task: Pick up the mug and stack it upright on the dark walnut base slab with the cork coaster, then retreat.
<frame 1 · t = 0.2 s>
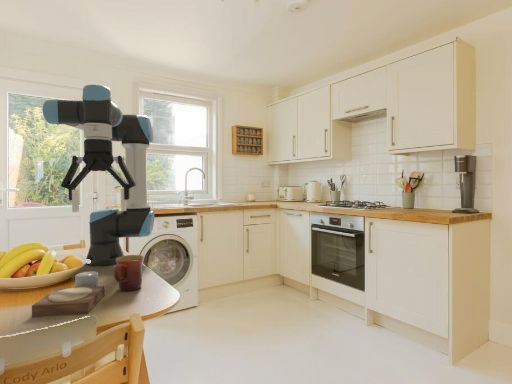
hand: (100, 211, 97), 27 cm above the table, fingers open, 13 cm apart
base slab: (71, 305, 95), on the table
mug: (127, 290, 107), on the table
grey rounded block: (87, 285, 112), on the table
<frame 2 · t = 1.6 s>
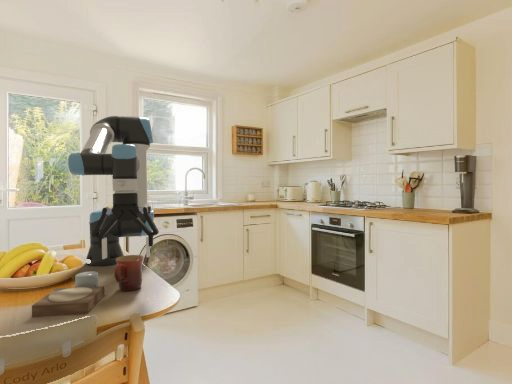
hand: (126, 257, 106), 11 cm above the table, fingers open, 13 cm apart
nothing on the table moved.
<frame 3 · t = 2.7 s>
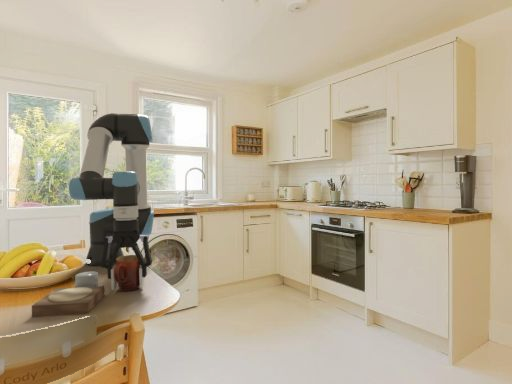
hand: (127, 287, 107), 1 cm above the table, fingers open, 8 cm apart
mug: (127, 290, 107), on the table, touching gripper
everything else where it was.
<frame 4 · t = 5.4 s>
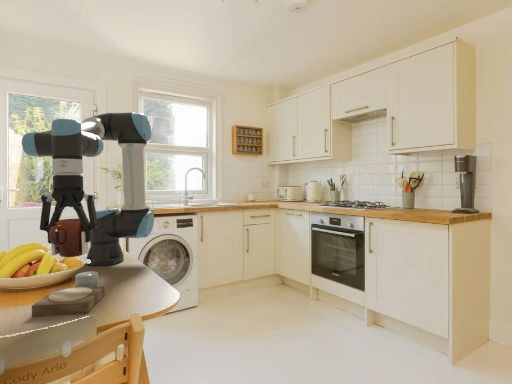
hand: (70, 253, 94), 15 cm above the table, fingers closed on mug, 7 cm apart
mug: (68, 257, 94), point 14 cm above the table, touching gripper
everything else where it was.
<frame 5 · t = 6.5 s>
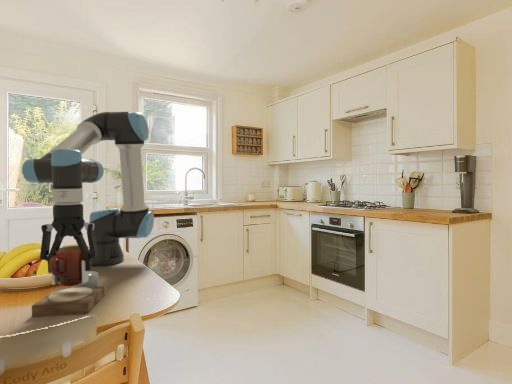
hand: (70, 282, 94), 7 cm above the table, fingers closed on mug, 7 cm apart
mug: (68, 285, 94), point 6 cm above the table, touching gripper
everything else where it was.
when the fingers open (4 cm above the table, at t = 7.7 s): mug stays where it is, resting on base slab.
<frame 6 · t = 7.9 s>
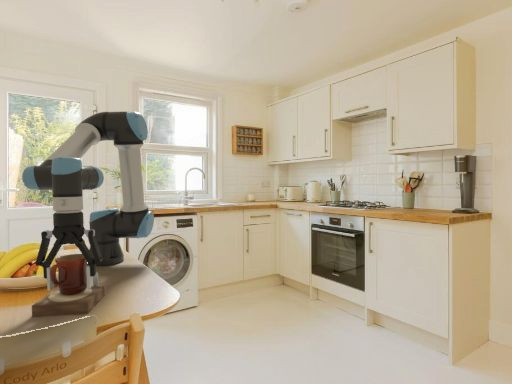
hand: (70, 288, 94), 5 cm above the table, fingers open, 10 cm apart
mug: (69, 294, 94), point 3 cm above the table, touching base slab
everything else where it was.
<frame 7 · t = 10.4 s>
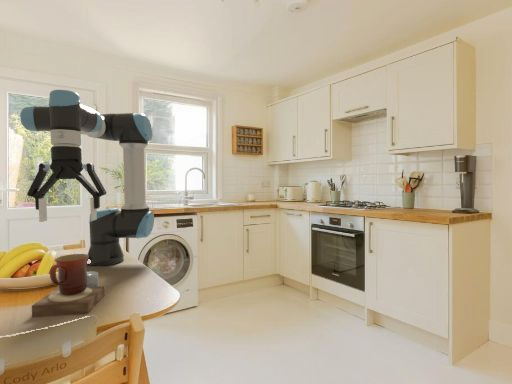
hand: (68, 220, 94), 25 cm above the table, fingers open, 13 cm apart
nothing on the table moved.
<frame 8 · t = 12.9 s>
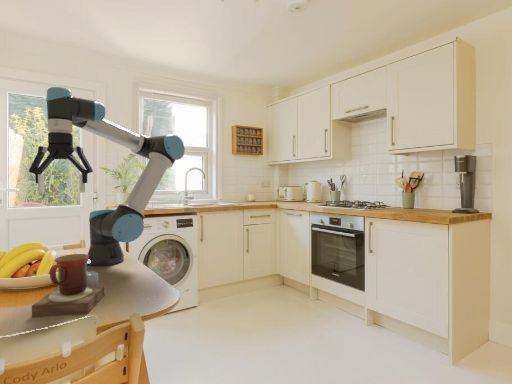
hand: (62, 192, 116), 32 cm above the table, fingers open, 13 cm apart
nothing on the table moved.
at the end: mug inside the target area on the base slab (0.5 cm from its centre), point 3.2 cm above the base slab's base; mug tilted 0°; the gripper is holding nothing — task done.
